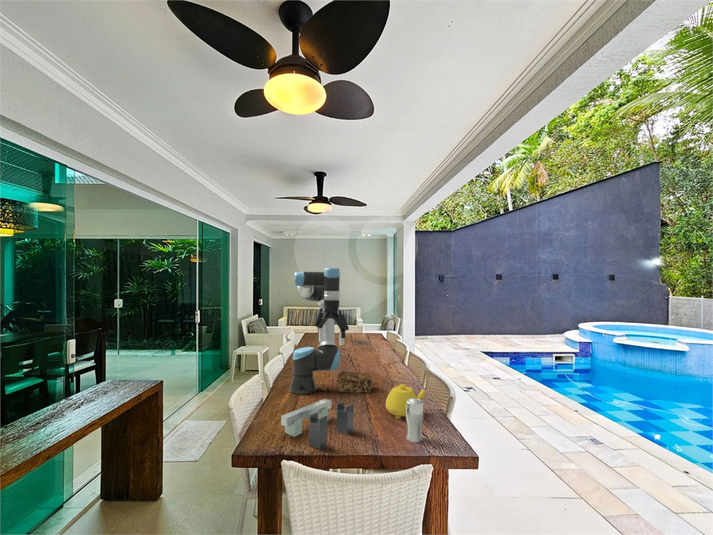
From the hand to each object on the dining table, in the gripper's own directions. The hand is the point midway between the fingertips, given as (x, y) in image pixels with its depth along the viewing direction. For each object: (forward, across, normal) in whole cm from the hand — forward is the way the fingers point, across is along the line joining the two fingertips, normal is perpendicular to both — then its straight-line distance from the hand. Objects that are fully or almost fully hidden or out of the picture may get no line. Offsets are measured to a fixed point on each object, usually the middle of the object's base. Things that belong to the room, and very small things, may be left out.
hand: (331, 343), depth 170 cm
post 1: (+32, +21, -30) cm, 48 cm away
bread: (+32, -8, +30) cm, 44 cm away
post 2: (+32, +21, -14) cm, 41 cm away
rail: (+27, +6, -21) cm, 35 cm away
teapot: (+32, +32, +18) cm, 49 cm away
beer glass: (+32, +47, -2) cm, 57 cm away
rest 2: (+32, +6, -13) cm, 35 cm away
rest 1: (+32, +6, -29) cm, 43 cm away
